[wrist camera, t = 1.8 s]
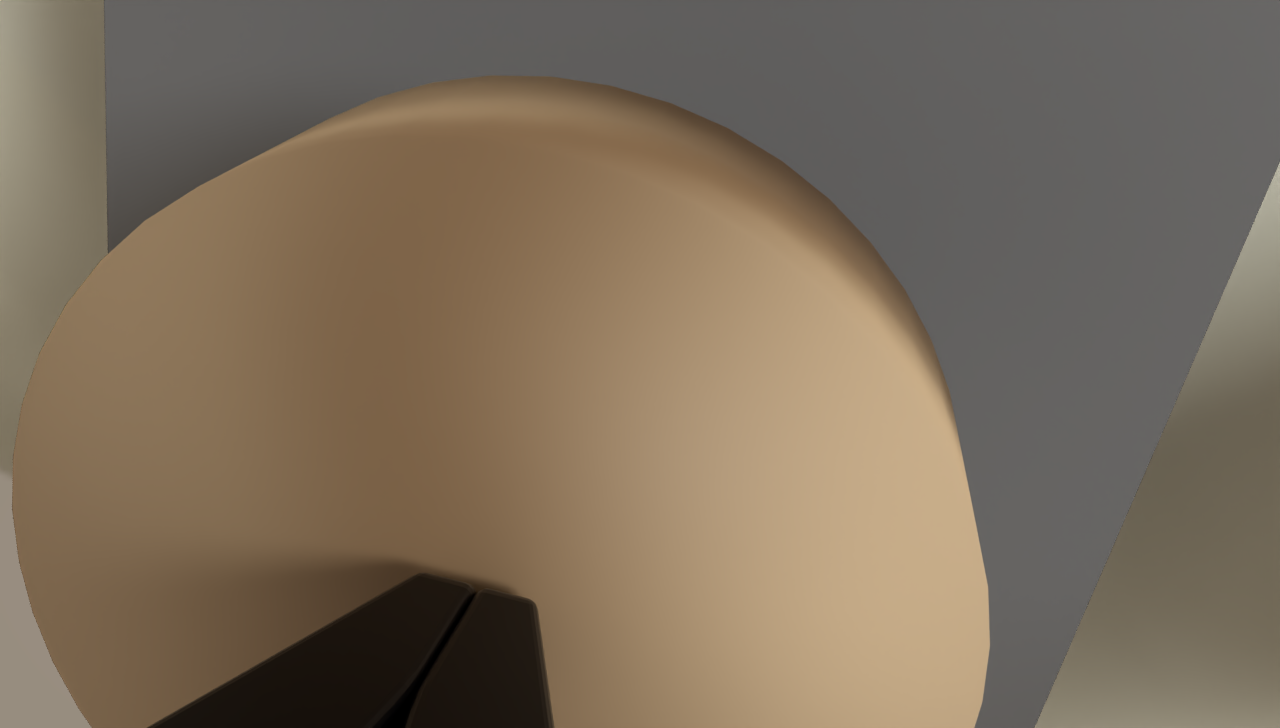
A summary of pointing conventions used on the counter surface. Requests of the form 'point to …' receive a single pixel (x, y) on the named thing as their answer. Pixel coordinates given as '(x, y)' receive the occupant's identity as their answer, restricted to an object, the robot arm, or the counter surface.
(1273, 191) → the counter surface
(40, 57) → the counter surface
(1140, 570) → the counter surface
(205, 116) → the gray rectangular block
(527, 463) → the tan rounded lump
